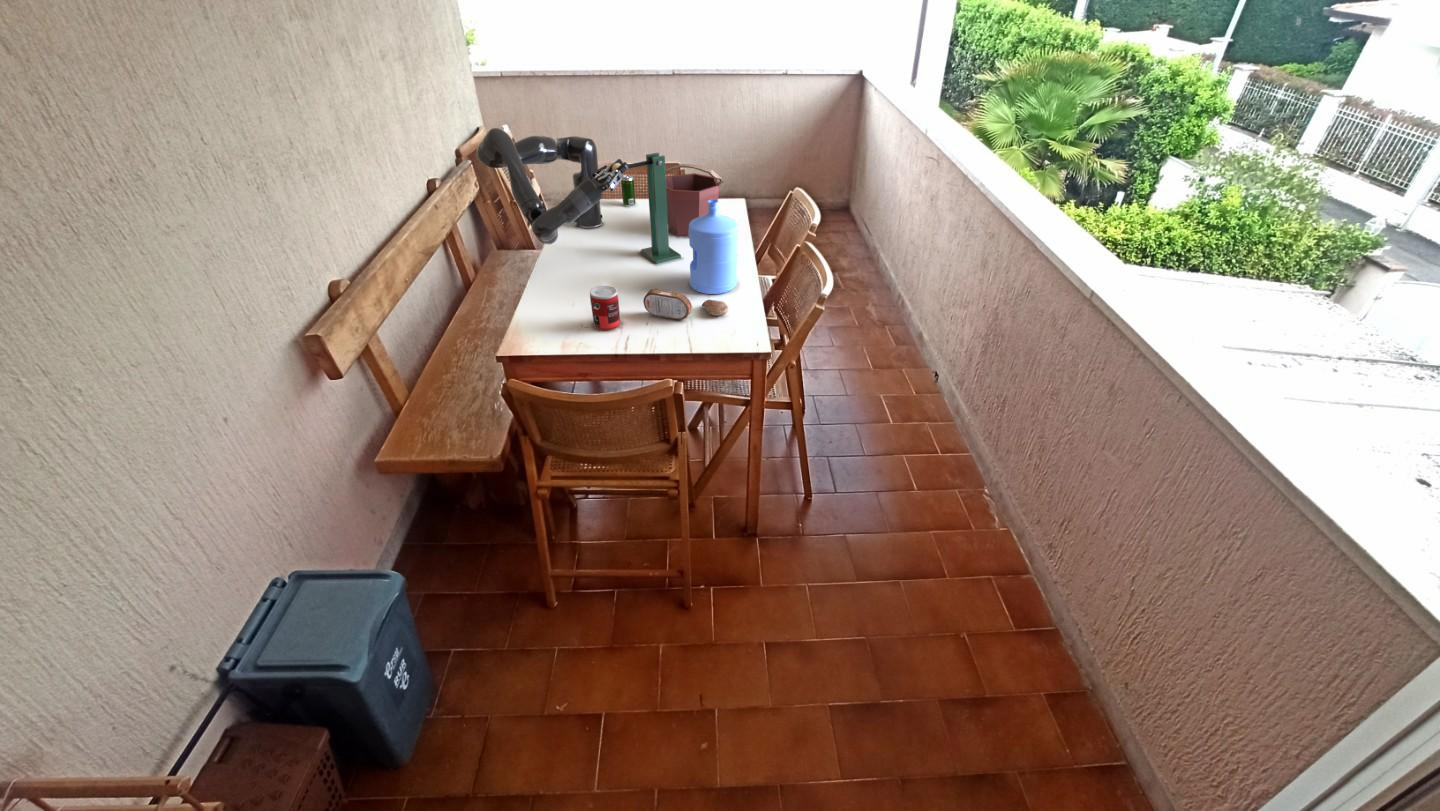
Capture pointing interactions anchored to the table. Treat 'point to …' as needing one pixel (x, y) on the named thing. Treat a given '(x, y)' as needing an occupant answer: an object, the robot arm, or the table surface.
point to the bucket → (689, 197)
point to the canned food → (605, 307)
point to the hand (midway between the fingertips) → (624, 163)
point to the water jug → (713, 252)
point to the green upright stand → (658, 212)
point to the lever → (634, 164)
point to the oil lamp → (715, 307)
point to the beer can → (628, 190)
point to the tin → (667, 304)
